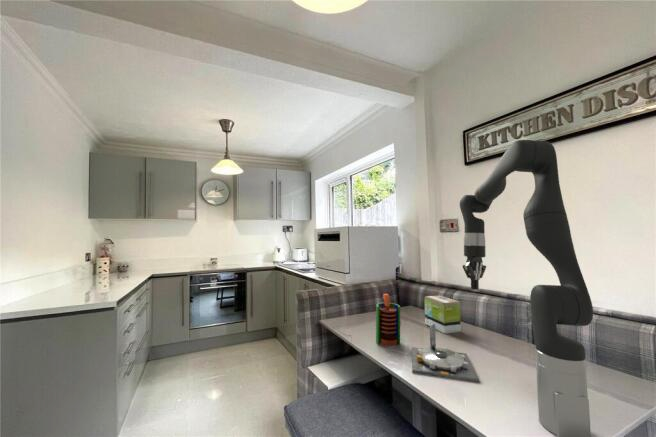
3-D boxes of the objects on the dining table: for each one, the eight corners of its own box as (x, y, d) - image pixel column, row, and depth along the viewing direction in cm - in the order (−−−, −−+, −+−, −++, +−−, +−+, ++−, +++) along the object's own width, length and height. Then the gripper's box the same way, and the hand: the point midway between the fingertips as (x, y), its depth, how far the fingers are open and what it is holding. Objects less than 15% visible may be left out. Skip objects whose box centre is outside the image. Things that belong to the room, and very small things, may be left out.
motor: (381, 347, 111) (381, 297, 113) (372, 339, 120) (372, 293, 121) (403, 345, 114) (402, 296, 116) (392, 337, 123) (392, 292, 124)
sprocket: (472, 374, 87) (471, 341, 87) (417, 367, 91) (416, 335, 92) (462, 353, 103) (461, 325, 103) (415, 348, 107) (415, 321, 108)
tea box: (424, 324, 142) (423, 295, 143) (440, 322, 145) (439, 294, 146) (444, 334, 128) (443, 302, 129) (461, 332, 131) (460, 300, 132)
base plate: (479, 382, 85) (479, 378, 85) (412, 372, 90) (412, 369, 90) (466, 356, 104) (466, 352, 104) (411, 349, 109) (411, 346, 109)
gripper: (474, 245, 114) (474, 287, 112) (455, 243, 107) (455, 288, 106) (493, 245, 108) (493, 290, 106) (474, 244, 101) (474, 291, 99)
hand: (474, 289), depth 106 cm, fingers closed
